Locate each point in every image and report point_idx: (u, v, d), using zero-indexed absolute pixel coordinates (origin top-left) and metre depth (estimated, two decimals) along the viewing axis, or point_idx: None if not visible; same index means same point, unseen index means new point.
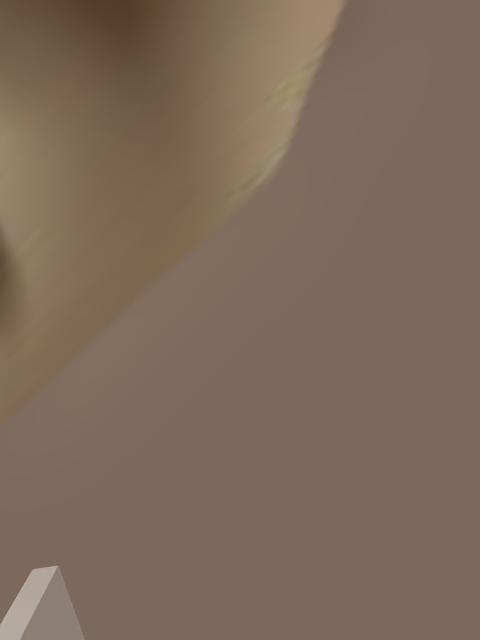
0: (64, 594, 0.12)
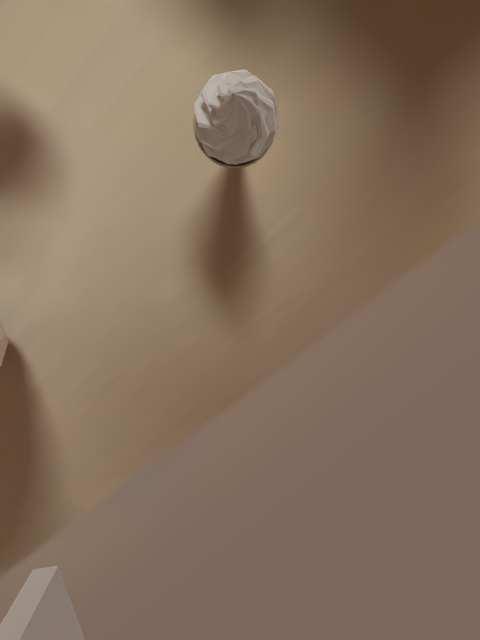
0: (64, 594, 0.12)
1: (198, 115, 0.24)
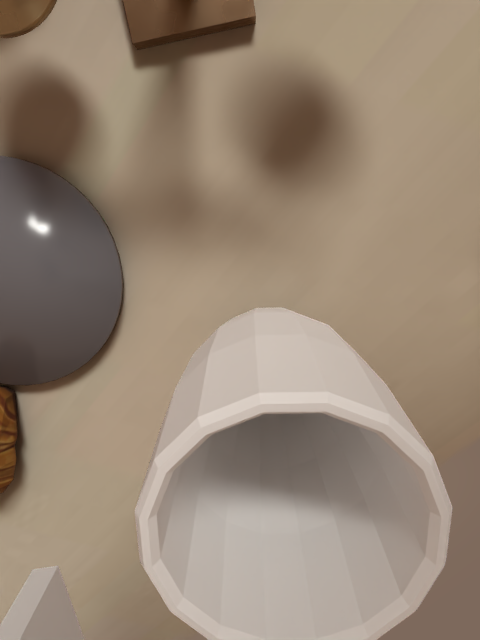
0: (64, 594, 0.12)
1: None
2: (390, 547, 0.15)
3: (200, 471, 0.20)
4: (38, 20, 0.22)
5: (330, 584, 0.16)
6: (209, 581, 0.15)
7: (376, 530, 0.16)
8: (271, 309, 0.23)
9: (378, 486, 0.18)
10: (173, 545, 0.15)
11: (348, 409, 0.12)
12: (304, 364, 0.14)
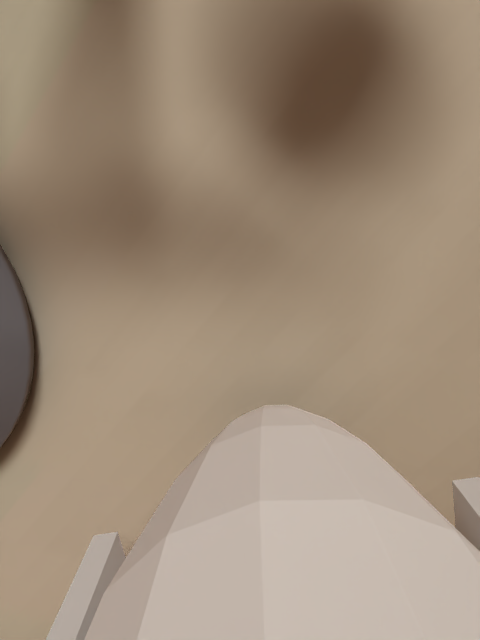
0: (123, 558, 0.13)
1: None
2: None
3: None
4: None
5: None
6: None
7: None
8: (297, 453, 0.10)
9: None
10: None
11: None
12: None
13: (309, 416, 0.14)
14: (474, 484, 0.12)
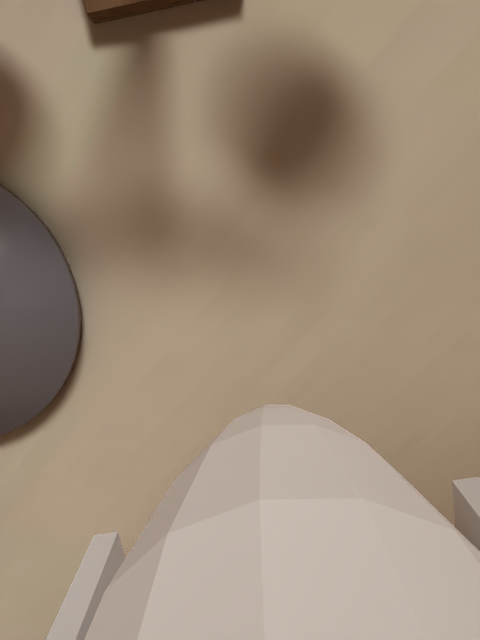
0: (123, 558, 0.13)
1: None
2: None
3: None
4: None
5: None
6: None
7: None
8: (297, 452, 0.10)
9: None
10: None
11: None
12: None
13: (309, 416, 0.14)
14: (474, 484, 0.12)
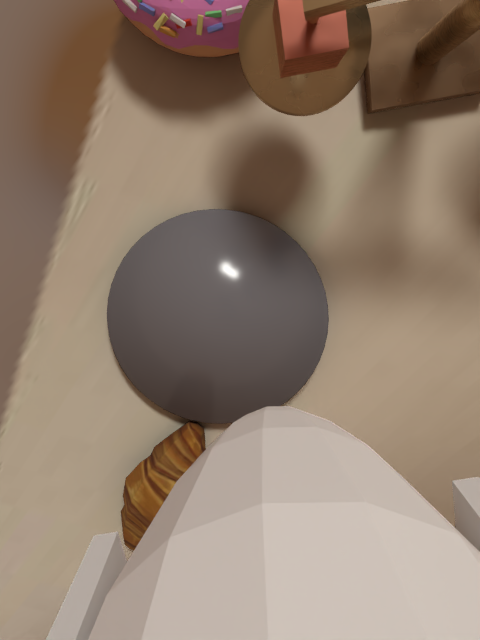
0: (123, 558, 0.13)
1: None
2: None
3: None
4: (338, 102, 0.24)
5: None
6: None
7: None
8: (299, 455, 0.10)
9: None
10: None
11: None
12: None
13: (310, 418, 0.14)
14: (474, 484, 0.12)
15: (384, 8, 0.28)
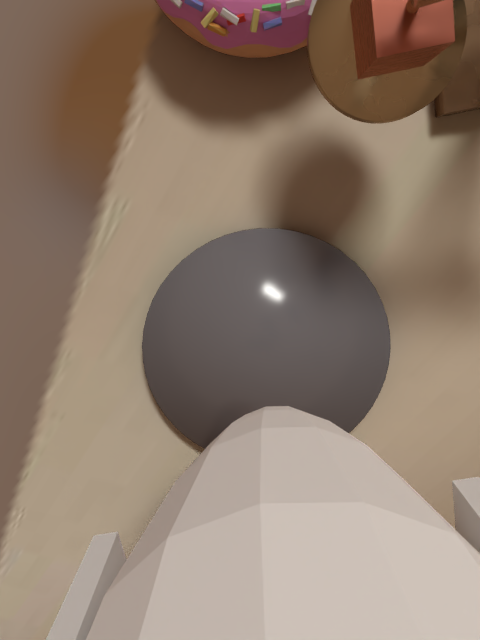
0: (123, 558, 0.13)
1: None
2: None
3: None
4: (424, 106, 0.20)
5: None
6: None
7: None
8: (297, 455, 0.10)
9: None
10: None
11: None
12: None
13: (309, 418, 0.14)
14: (474, 484, 0.12)
15: None
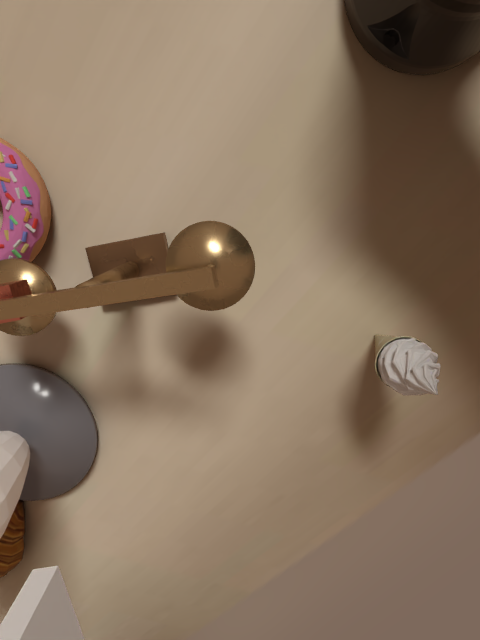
0: (64, 594, 0.12)
1: (389, 372, 0.37)
2: None
3: None
4: (44, 327, 0.39)
5: None
6: None
7: None
8: None
9: None
10: None
11: None
12: None
13: None
14: None
15: (98, 247, 0.43)
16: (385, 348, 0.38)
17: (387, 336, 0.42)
